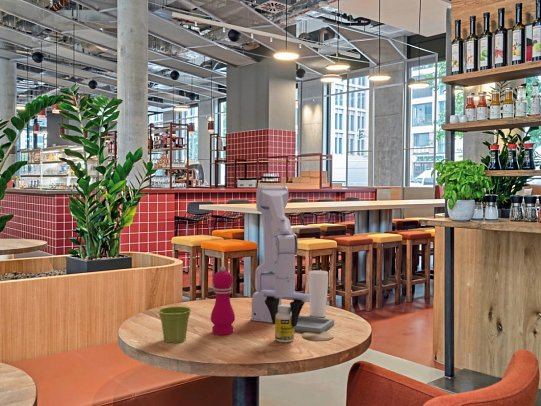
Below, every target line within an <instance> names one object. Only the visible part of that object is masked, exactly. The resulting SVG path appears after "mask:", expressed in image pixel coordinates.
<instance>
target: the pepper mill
mask: <svg viewBox="0 0 541 406" xmlns="http://www.w3.org/2000/svg"><path fill="white" fill-rule="evenodd" d="M219 270H220V271H217V272H216V273H214V275H213V277H212V283H213V285H214V286H215V287H213V288H214V293H215V301H214V302H215V303H214V306H213V308H212V311H211V313H210V322H211V323H212V324H213V325H212V330H211V332H212V334H214V335H217V336H228V335H232V334H233V333H234V326H233V323H234V322H235V321H236V315H235V311H234V309H233V306H232V304H231V297H230V295H231V292H232V287H231V286H232V284H233V281H234V278H233V275H232V274H231V272H229V271H226V270H227V268H226V266H225V265H222V266H219Z"/></svg>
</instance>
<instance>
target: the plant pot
mask: <svg viewBox="0 0 541 406" xmlns="http://www.w3.org/2000/svg"><path fill="white" fill-rule="evenodd" d="M157 313H158V315H159V318H160V322H161V328H162V336H163V341H164V342H166V343H171V342H172V343H174V344H176V343H181V342H184V341H185V340H186V339H187V333H188V326H189V325H188V323H189V317H190V315H191V313H192V308H191V307H187V306H166V307H162V308H160V309H158V310H157Z"/></svg>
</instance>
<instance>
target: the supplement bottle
mask: <svg viewBox="0 0 541 406" xmlns="http://www.w3.org/2000/svg"><path fill="white" fill-rule="evenodd" d="M278 311H279V312H278V313H277V314H276V315H275V324H274V326H275V327H274V340H275V341H277V342H280V343H290V342H293V341H294V340H295V331H294V327H292V323H291V322H292V313H291V306H290V304H281V305H278Z"/></svg>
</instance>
